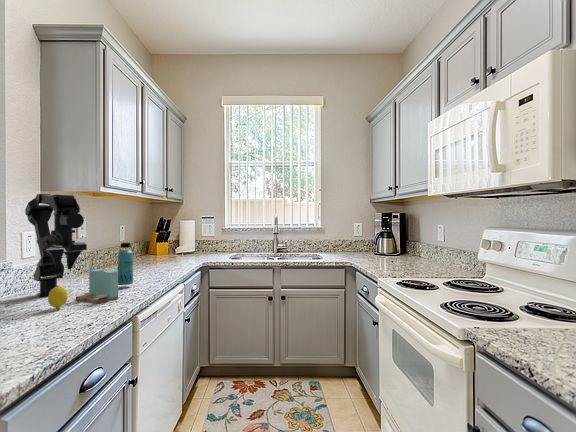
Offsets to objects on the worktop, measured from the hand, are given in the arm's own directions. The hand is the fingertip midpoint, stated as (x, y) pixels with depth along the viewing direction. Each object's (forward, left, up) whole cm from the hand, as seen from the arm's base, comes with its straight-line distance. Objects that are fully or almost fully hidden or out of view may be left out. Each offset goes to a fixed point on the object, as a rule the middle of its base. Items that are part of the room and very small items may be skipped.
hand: (63, 268), depth 126 cm
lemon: (+13, -4, -12) cm, 18 cm away
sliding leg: (+6, +8, -11) cm, 15 cm away
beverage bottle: (-6, +25, -12) cm, 29 cm away
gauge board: (+9, +9, -12) cm, 17 cm away
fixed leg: (+13, +11, -11) cm, 20 cm away
